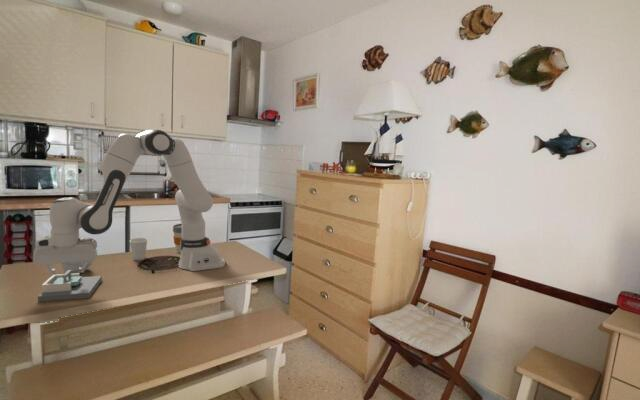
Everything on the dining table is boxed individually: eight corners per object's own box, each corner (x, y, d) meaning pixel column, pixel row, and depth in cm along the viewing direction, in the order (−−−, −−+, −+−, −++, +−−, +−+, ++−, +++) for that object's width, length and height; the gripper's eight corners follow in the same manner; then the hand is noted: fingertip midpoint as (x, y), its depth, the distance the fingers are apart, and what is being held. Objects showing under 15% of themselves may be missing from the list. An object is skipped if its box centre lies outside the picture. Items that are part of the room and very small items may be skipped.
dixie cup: (130, 256, 178) (130, 238, 176) (148, 255, 181) (147, 237, 180) (129, 261, 170) (128, 242, 169) (147, 260, 174) (147, 241, 172)
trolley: (82, 282, 138) (81, 269, 137) (77, 287, 132) (76, 274, 131) (58, 283, 135) (58, 270, 134) (52, 289, 129) (51, 275, 129)
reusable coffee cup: (199, 248, 198) (199, 224, 196) (191, 255, 185) (191, 228, 183) (178, 247, 198) (178, 222, 196) (168, 254, 185) (168, 227, 183)
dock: (101, 280, 145) (101, 269, 145) (89, 297, 129) (88, 285, 128) (57, 283, 140) (56, 271, 139) (38, 301, 123) (37, 288, 122)
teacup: (57, 272, 152) (56, 255, 151) (83, 265, 161) (82, 249, 160) (74, 278, 145) (73, 261, 144) (100, 271, 155) (99, 255, 154)
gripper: (98, 236, 137) (100, 268, 139) (37, 238, 130) (39, 272, 132) (94, 240, 131) (95, 273, 133) (29, 242, 125) (32, 277, 126)
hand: (67, 273), depth 133 cm, fingers open, 8 cm apart
